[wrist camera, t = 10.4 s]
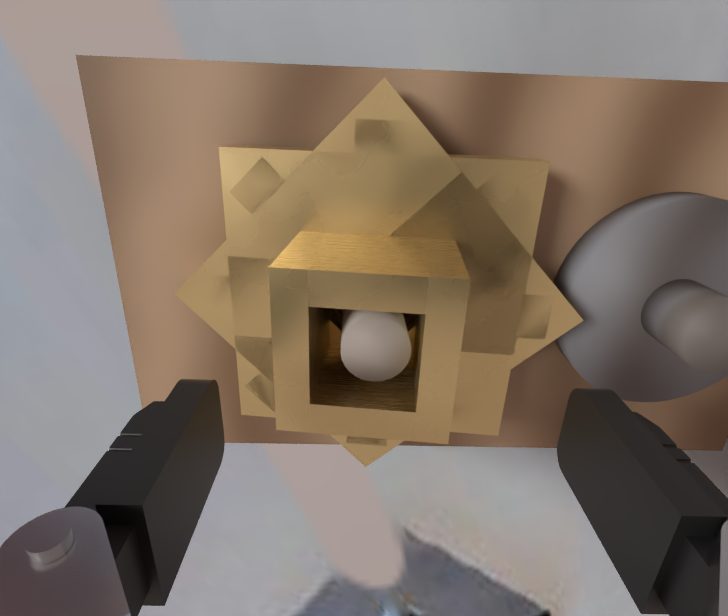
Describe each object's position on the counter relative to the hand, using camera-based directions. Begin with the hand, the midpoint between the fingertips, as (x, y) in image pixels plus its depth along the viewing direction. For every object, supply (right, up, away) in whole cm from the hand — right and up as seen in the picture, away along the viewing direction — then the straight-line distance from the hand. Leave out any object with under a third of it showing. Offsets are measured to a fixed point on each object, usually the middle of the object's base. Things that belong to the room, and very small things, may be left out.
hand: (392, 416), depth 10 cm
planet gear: (0, +3, +6) cm, 7 cm away
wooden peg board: (+3, +4, +9) cm, 10 cm away
